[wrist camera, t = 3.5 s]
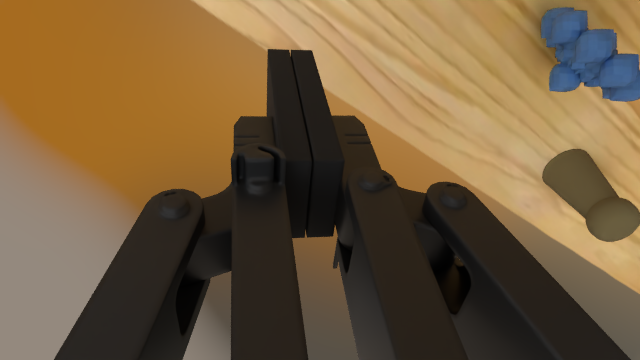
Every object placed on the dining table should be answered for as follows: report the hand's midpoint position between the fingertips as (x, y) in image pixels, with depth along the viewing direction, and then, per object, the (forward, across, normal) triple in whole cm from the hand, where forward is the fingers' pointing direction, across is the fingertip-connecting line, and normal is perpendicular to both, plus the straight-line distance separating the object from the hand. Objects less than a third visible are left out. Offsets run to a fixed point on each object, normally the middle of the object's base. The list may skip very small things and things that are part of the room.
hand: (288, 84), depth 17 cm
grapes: (+25, +28, -7) cm, 38 cm away
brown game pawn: (+25, +38, -24) cm, 51 cm away
